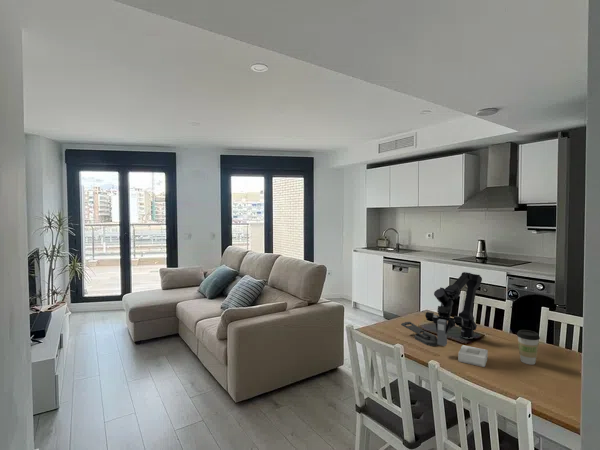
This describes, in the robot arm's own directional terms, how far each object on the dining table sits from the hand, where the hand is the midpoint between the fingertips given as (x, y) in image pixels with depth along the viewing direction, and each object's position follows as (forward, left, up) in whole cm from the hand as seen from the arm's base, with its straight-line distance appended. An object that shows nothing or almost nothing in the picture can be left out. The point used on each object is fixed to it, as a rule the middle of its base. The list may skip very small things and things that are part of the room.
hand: (441, 332), depth 182 cm
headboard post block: (-11, +10, -12) cm, 19 cm away
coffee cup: (-35, +21, -12) cm, 43 cm away
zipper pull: (-4, -24, -12) cm, 28 cm away
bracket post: (-1, -1, -7) cm, 7 cm away
